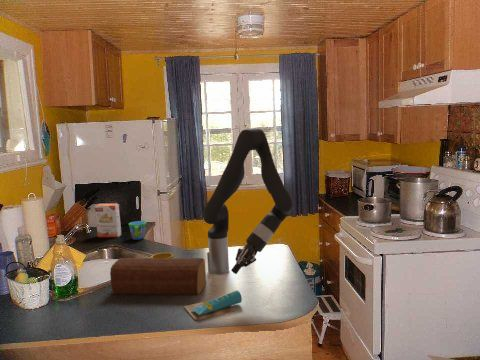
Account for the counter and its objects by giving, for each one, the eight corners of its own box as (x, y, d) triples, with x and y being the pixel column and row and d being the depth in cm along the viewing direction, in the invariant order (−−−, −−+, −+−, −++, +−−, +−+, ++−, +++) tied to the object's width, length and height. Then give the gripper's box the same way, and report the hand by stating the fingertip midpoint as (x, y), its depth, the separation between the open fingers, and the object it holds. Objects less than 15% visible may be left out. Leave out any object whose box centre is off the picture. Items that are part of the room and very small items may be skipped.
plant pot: (151, 273, 219) (149, 254, 217) (172, 270, 222) (171, 251, 220) (154, 280, 209) (152, 260, 208) (176, 277, 212) (174, 257, 211)
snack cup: (132, 235, 292) (131, 220, 290) (149, 234, 292) (147, 219, 290) (127, 242, 276) (125, 226, 275) (144, 241, 276) (143, 225, 275)
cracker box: (97, 237, 291) (94, 205, 288) (101, 235, 297) (98, 203, 294) (117, 237, 288) (114, 205, 285) (121, 235, 294) (119, 203, 291)
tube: (242, 291, 175) (196, 307, 166) (244, 303, 175) (199, 320, 166) (233, 289, 182) (189, 304, 173) (236, 300, 182) (192, 316, 173)
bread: (124, 282, 209) (122, 254, 208) (207, 283, 204) (205, 254, 202) (110, 295, 194) (107, 265, 192) (199, 297, 188) (197, 266, 187)
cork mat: (195, 320, 166) (195, 319, 166) (183, 307, 178) (183, 306, 178) (234, 310, 173) (234, 309, 173) (221, 299, 185) (221, 297, 185)
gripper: (246, 228, 186) (220, 262, 183) (261, 235, 175) (233, 272, 171) (258, 239, 189) (233, 272, 186) (273, 246, 177) (247, 282, 174)
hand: (233, 272), depth 179 cm, fingers closed
